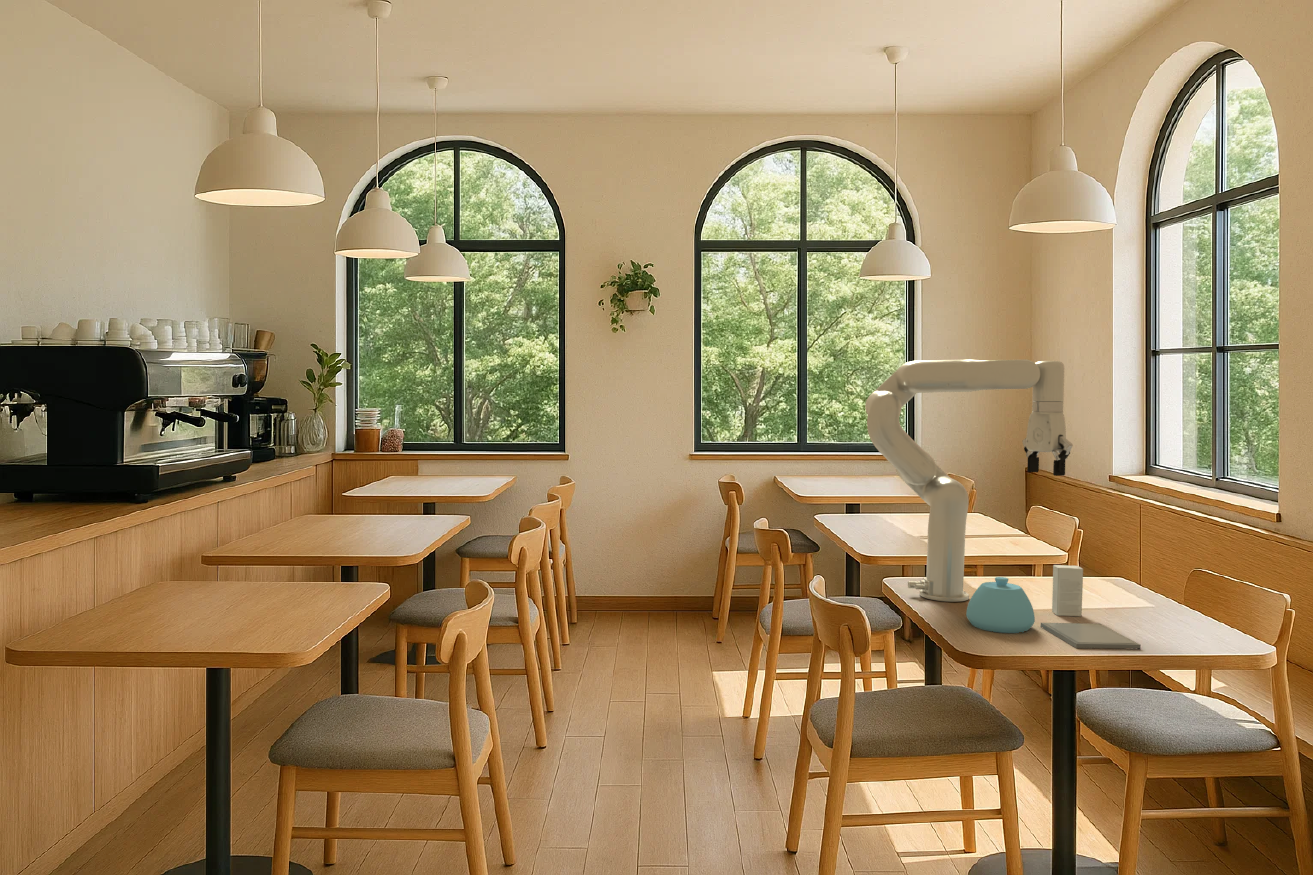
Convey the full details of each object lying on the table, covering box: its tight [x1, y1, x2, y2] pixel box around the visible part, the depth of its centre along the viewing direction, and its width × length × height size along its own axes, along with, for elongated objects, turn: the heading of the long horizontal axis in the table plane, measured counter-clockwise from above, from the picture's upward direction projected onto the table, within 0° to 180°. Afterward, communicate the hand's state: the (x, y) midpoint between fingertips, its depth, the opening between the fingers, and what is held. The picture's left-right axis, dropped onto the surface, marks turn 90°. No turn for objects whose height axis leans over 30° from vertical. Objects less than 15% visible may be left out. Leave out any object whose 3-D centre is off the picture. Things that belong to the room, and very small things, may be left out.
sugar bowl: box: [966, 576, 1036, 634], centre depth 219 cm, size 15×15×12 cm
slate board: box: [1040, 622, 1142, 649], centre depth 211 cm, size 14×18×1 cm
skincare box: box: [1051, 564, 1084, 617], centre depth 233 cm, size 6×4×12 cm
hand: (1045, 473), depth 245 cm, fingers open, 9 cm apart
